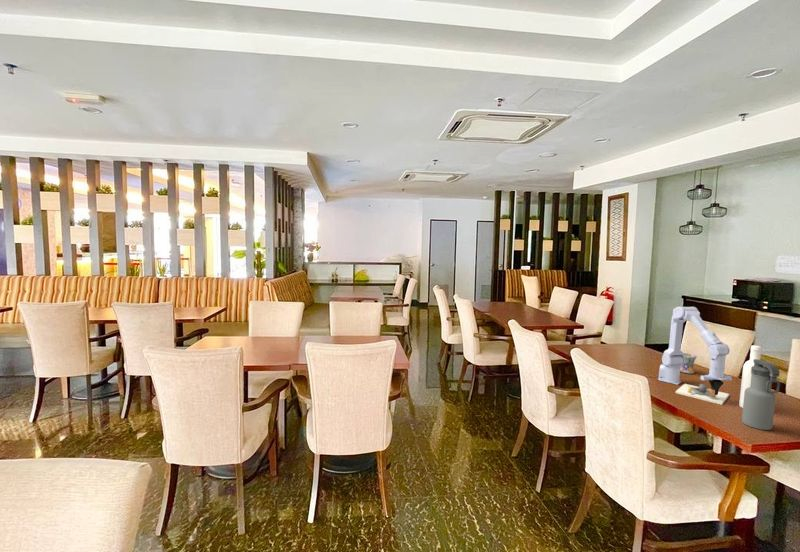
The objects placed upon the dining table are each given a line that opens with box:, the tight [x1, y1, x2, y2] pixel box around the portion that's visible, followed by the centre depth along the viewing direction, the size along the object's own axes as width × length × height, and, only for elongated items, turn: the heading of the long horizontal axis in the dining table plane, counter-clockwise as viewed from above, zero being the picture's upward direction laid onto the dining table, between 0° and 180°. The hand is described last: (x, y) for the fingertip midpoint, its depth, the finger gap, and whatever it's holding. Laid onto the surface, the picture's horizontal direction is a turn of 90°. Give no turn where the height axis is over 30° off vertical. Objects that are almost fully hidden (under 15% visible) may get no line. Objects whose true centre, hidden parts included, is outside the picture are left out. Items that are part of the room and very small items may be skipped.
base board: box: [675, 383, 730, 406], centre depth 204 cm, size 19×18×5 cm
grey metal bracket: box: [692, 387, 717, 399], centre depth 202 cm, size 13×8×4 cm, turn 173°
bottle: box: [738, 344, 765, 409], centre depth 187 cm, size 8×8×30 cm
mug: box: [680, 352, 698, 375], centre depth 242 cm, size 12×9×11 cm
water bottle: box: [741, 359, 781, 431], centre depth 168 cm, size 10×10×28 cm
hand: (714, 394), depth 197 cm, fingers closed, pressing on grey metal bracket
